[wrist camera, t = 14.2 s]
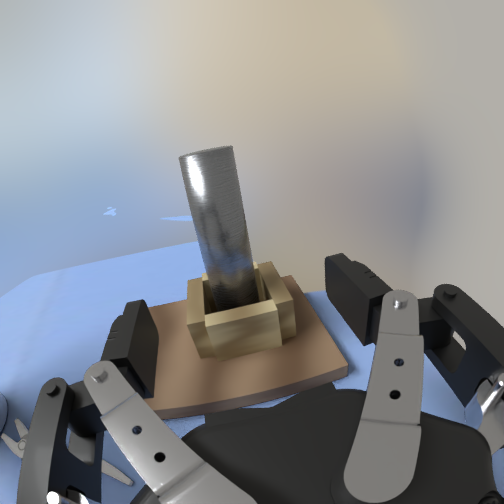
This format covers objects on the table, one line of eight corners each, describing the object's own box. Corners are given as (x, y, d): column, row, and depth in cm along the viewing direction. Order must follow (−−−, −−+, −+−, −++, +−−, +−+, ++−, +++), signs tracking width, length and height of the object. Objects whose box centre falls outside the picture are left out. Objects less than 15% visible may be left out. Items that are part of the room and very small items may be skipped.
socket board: (113, 422, 18) (79, 383, 15) (134, 320, 31) (117, 283, 29) (346, 376, 20) (352, 327, 17) (292, 285, 33) (287, 244, 31)
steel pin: (224, 342, 24) (176, 159, 17) (220, 316, 28) (180, 155, 21) (267, 331, 24) (235, 146, 17) (258, 307, 28) (229, 144, 21)
